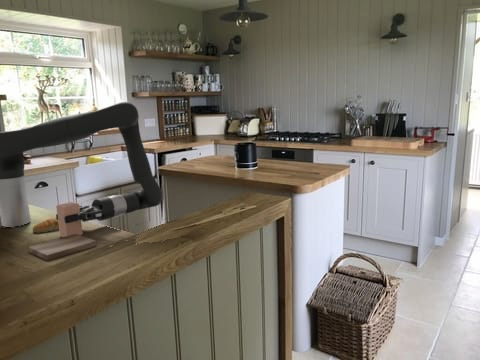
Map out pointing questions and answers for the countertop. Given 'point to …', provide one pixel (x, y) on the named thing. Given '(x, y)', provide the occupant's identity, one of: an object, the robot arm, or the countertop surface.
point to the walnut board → (61, 246)
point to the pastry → (46, 226)
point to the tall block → (68, 228)
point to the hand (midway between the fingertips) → (61, 218)
